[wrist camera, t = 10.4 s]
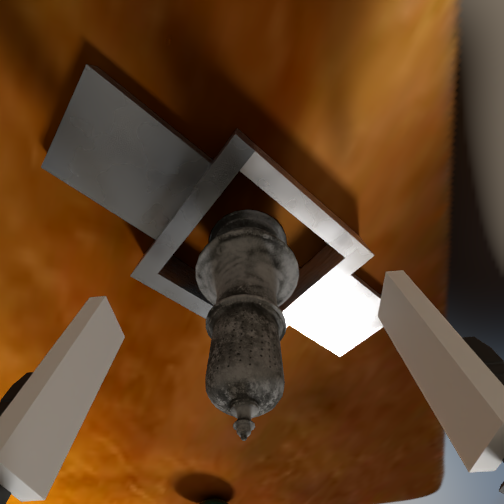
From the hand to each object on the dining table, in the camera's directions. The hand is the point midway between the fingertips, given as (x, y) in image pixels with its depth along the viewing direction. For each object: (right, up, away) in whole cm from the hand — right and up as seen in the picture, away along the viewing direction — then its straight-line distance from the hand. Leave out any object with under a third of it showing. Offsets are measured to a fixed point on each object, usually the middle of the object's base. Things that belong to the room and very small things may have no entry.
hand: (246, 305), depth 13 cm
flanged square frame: (0, +3, +5) cm, 6 cm away
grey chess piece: (0, +3, +6) cm, 6 cm away
